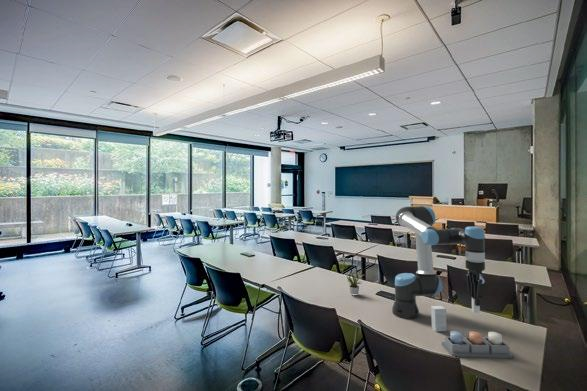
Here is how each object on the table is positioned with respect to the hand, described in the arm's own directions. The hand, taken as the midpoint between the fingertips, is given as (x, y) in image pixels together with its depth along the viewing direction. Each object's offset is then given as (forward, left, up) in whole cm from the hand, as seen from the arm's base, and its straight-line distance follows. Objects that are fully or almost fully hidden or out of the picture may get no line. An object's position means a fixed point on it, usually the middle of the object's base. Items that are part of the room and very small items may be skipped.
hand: (475, 311), depth 131 cm
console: (0, 0, -18) cm, 18 cm away
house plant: (-71, -44, -18) cm, 86 cm away
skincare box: (-20, -8, -18) cm, 28 cm away
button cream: (0, +8, -14) cm, 16 cm away
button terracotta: (0, 0, -14) cm, 14 cm away
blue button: (0, -9, -14) cm, 16 cm away
